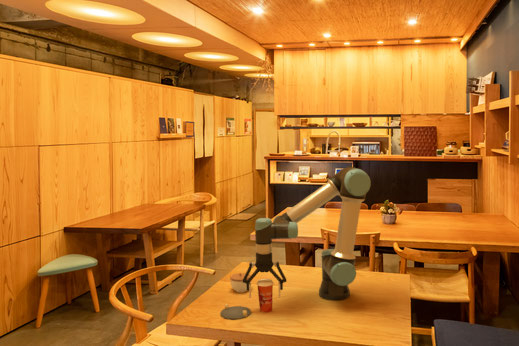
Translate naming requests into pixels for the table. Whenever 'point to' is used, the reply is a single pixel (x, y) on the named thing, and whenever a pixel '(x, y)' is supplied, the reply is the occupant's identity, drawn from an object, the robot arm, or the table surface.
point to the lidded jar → (239, 282)
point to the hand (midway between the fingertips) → (264, 296)
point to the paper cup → (265, 294)
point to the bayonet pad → (235, 312)
